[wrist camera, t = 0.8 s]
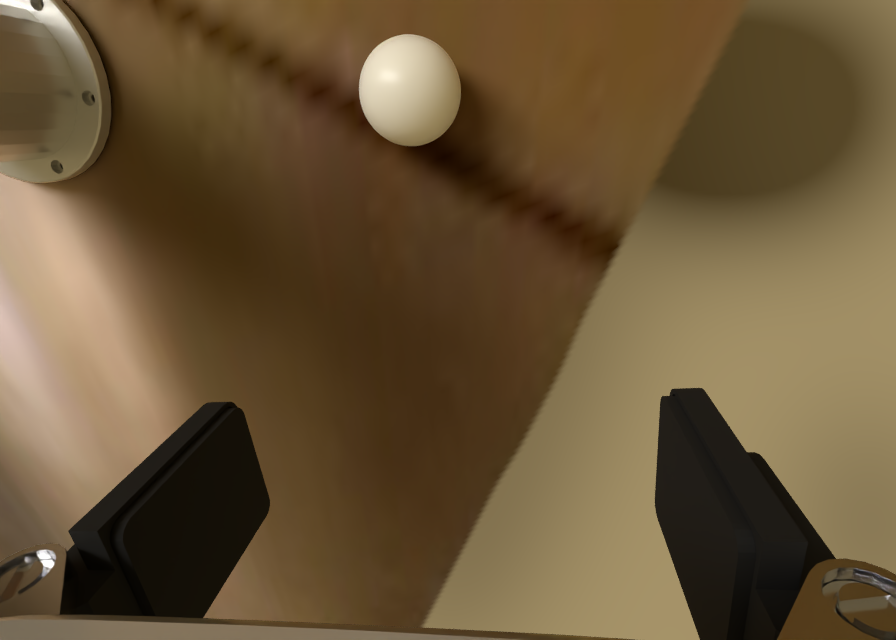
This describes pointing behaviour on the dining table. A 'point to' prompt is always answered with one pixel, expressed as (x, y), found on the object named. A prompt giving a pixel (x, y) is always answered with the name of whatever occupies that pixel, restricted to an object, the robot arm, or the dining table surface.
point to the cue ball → (409, 90)
